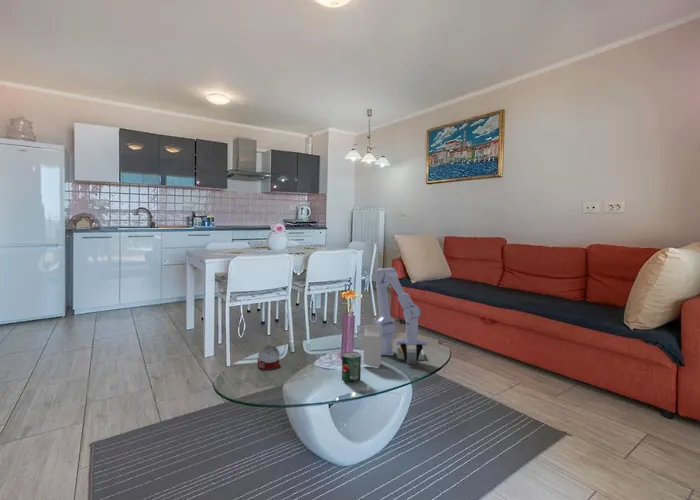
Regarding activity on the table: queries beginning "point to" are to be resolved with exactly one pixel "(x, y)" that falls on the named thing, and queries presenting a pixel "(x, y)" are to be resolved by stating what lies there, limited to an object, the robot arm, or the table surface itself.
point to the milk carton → (372, 345)
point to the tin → (411, 356)
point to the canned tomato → (351, 367)
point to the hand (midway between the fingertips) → (411, 359)
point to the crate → (401, 356)
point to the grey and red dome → (268, 357)
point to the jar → (402, 350)
